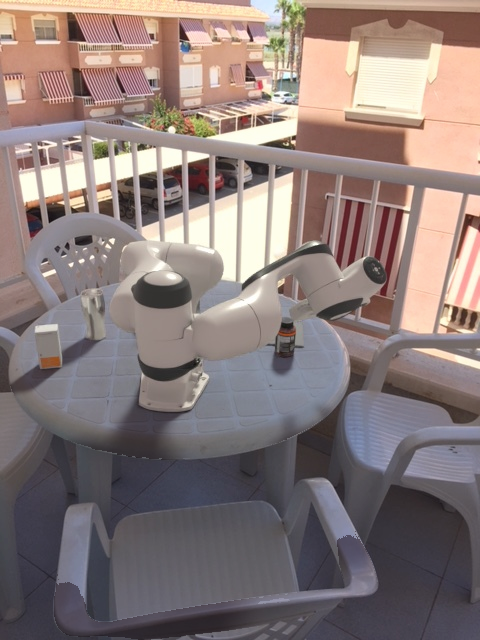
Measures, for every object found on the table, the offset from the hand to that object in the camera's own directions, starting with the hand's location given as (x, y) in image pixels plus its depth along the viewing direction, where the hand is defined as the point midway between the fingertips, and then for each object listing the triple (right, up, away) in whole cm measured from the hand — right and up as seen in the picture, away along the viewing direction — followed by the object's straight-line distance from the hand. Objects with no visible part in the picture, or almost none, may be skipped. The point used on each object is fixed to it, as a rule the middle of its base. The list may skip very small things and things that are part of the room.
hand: (313, 316), depth 140 cm
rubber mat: (-10, -5, +28) cm, 31 cm away
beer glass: (-65, -6, +23) cm, 69 cm away
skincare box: (-73, -14, +8) cm, 75 cm away
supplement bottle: (-6, -11, +18) cm, 22 cm away
